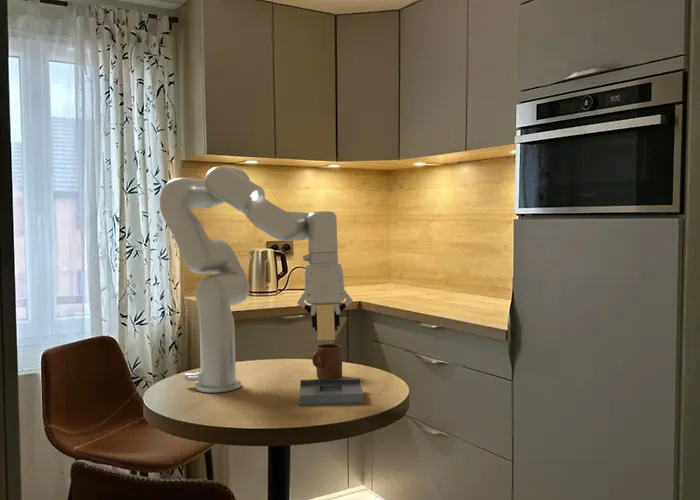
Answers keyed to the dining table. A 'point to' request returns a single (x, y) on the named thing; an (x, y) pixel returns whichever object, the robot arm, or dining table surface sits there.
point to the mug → (328, 361)
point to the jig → (331, 391)
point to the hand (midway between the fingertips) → (326, 329)
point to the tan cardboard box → (325, 321)
